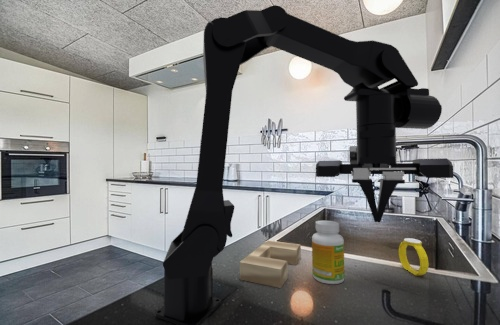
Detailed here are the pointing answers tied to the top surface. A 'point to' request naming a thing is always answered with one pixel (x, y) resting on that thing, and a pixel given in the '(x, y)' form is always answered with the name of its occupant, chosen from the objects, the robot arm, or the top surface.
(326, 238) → the supplement bottle
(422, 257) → the watch
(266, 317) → the top surface
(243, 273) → the beige c-shaped block
